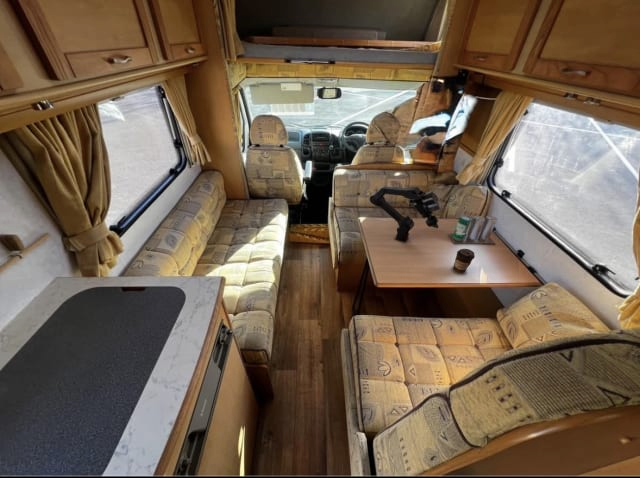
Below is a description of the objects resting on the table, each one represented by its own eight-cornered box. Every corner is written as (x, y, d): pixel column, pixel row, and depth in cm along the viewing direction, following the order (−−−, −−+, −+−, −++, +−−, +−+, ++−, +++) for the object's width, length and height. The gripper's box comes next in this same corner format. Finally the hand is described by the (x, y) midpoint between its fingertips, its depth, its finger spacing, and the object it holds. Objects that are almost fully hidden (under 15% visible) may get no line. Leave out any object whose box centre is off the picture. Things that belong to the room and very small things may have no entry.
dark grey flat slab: (454, 244, 162) (455, 242, 162) (448, 235, 171) (448, 233, 170) (494, 244, 162) (495, 243, 162) (486, 235, 170) (487, 234, 170)
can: (451, 237, 166) (458, 217, 157) (455, 234, 169) (462, 214, 161) (460, 242, 162) (469, 221, 154) (464, 238, 166) (473, 218, 157)
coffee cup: (465, 278, 137) (474, 259, 130) (449, 272, 141) (456, 253, 133) (468, 269, 143) (476, 250, 136) (452, 263, 147) (459, 245, 139)
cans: (468, 240, 163) (476, 220, 155) (463, 235, 168) (472, 215, 160) (489, 241, 163) (499, 220, 155) (484, 235, 168) (494, 215, 159)
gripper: (439, 206, 139) (453, 223, 145) (428, 191, 154) (441, 208, 161) (421, 218, 144) (436, 235, 150) (412, 202, 159) (425, 218, 165)
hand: (435, 223), depth 156 cm, fingers open, 9 cm apart
